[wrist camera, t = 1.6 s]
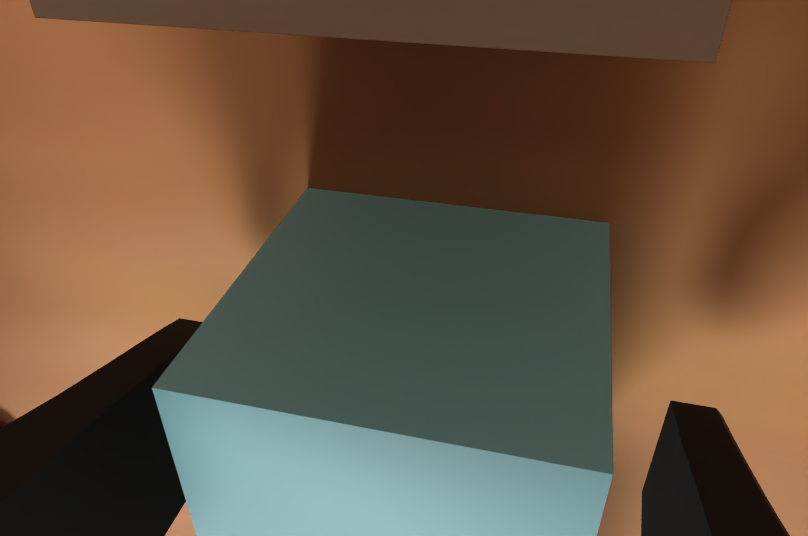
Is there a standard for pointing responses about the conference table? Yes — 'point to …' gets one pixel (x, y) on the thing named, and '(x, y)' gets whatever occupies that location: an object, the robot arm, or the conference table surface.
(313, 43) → the conference table surface
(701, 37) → the walnut block
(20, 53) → the conference table surface
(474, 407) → the teal block
